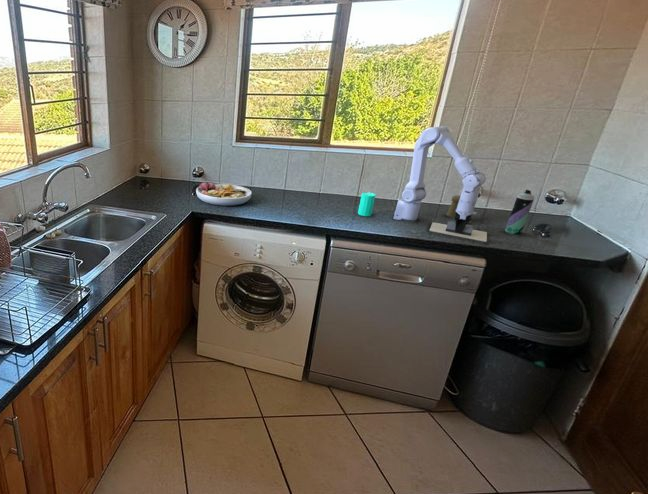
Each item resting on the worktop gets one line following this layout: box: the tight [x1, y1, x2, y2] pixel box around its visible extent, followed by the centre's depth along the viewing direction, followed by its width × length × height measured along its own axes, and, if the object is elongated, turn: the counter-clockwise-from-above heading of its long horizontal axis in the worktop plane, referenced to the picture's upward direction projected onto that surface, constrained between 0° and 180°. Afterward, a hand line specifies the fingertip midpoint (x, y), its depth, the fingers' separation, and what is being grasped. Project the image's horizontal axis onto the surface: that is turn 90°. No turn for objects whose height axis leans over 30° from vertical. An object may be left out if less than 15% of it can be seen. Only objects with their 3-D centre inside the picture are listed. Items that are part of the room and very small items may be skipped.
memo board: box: [429, 222, 488, 243], centre depth 177 cm, size 20×14×1 cm
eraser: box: [446, 220, 474, 236], centre depth 175 cm, size 9×4×4 cm, turn 51°
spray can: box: [504, 189, 535, 235], centre depth 173 cm, size 6×6×20 cm
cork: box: [445, 194, 461, 218], centre depth 195 cm, size 6×6×11 cm
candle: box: [357, 191, 377, 217], centre depth 198 cm, size 6×6×12 cm
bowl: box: [195, 181, 253, 207], centre depth 221 cm, size 30×30×8 cm
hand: (458, 230), depth 176 cm, fingers closed on eraser, 4 cm apart
